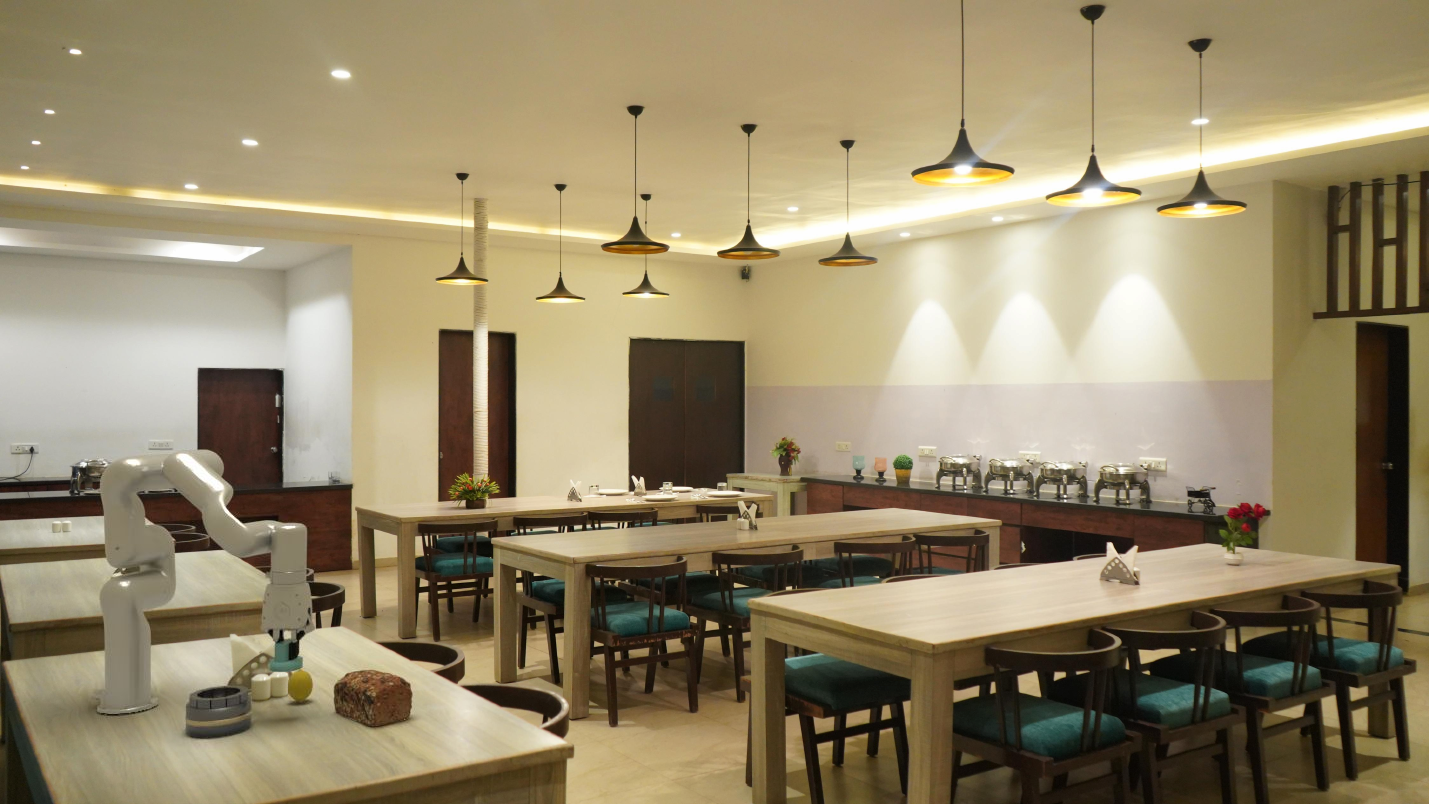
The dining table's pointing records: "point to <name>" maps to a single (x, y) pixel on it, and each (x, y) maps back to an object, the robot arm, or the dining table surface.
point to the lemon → (300, 685)
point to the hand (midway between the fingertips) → (287, 657)
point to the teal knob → (284, 659)
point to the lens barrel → (218, 712)
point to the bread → (373, 697)
